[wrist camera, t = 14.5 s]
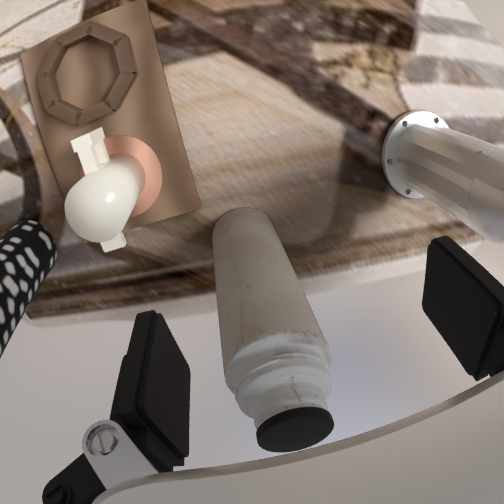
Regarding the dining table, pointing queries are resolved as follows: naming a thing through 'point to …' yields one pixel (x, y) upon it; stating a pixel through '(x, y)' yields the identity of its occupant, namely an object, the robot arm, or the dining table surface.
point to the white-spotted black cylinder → (22, 272)
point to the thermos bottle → (269, 335)
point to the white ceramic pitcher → (103, 191)
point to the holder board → (112, 106)
